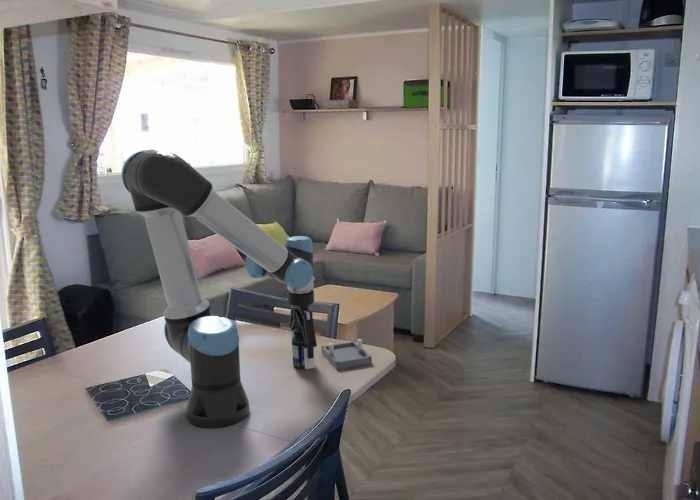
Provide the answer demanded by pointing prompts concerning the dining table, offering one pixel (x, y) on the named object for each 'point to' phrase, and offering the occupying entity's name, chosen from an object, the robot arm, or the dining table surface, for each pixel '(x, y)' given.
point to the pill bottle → (298, 348)
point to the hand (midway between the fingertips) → (303, 359)
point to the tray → (346, 354)
